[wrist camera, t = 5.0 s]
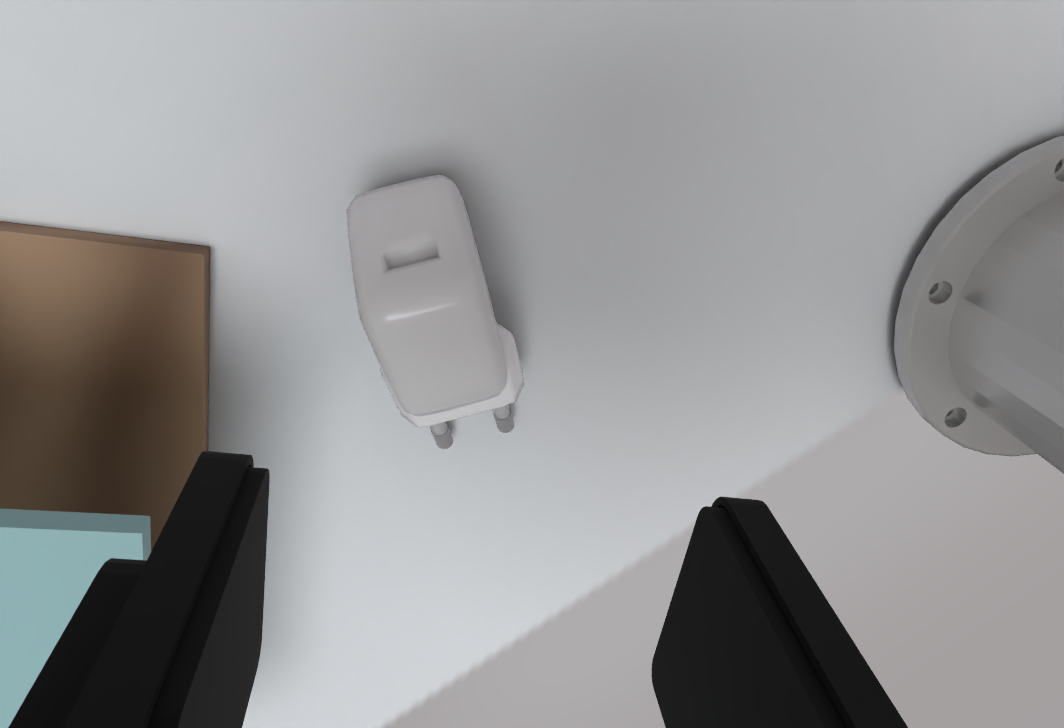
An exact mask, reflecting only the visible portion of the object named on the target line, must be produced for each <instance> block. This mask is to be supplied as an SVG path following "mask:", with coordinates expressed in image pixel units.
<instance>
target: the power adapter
mask: <svg viewBox="0 0 1064 728" xmlns="http://www.w3.org/2000/svg"><path fill="white" fill-rule="evenodd" d="M347 223H348V236H349V245H350V254H351V262H352V269H353V277H354V285H355V292H356V299H357V305H358V311H359V316H360V321H361V323H362V326H363V328H364V330H365V333H366V335H367V337H368V340H369V342H370V344H371V346H372V348H373V351H374V353H375V355H376V357H377V359H378V361H379V363H380V365H381V369H380V370H381V374H382V376H383V378H384V380H385V382H386V385H387V387H388V389H389V391H390V393H391V395H392V397H393V399H394V401H395V403H396V405H397V407H398V409H399V411H400V413H401V415H402V416H403V417H404V418H406V419H407V420H408V421H409V422H411V423H412V424H413V425H414V426H416V427H423V426H430V428H431V432H432V435H433V437H434V439H435V441H436V444H437V446H438V447H439V448H441V449H447V448H449V447H451V445H452V444H453V437H452V435H451V432H450V430H449V427H448V425H447V424H446V421H450V420H454V419H458V418H461V417H465V416H469V415H473V414H477V413H480V412H484V411H488V410H492V409H493V411H494V417H495V421H496V424H497V427H498V429H499V430H500V431H501V432H503V433H508V432H510V431H511V430H512V429H513V428H514V421H513V417H512V413H511V410H510V408H509V405H508V404H510V403H513V402H514V401H516V400H517V398H518V395H519V393H520V391H521V389H522V387H523V385H524V378H523V372H522V368H521V364H520V359H519V355H518V351H517V347H516V342H515V339H514V336H513V335H512V333H511V332H509V331H508V330H507V329H505V328H504V327H503V326H501V325H500V324H498V323H497V322H496V319H495V315H494V311H493V307H492V303H491V300H490V296H489V292H488V288H487V284H486V280H485V276H484V273H483V269H482V265H481V261H480V258H479V254H478V250H477V246H476V243H475V239H474V235H473V232H472V228H471V225H470V221H469V218H468V214H467V211H466V208H465V204H464V201H463V198H462V195H461V192H460V191H459V189H458V188H457V186H456V185H455V183H454V182H453V181H452V180H451V179H449V178H447V177H445V176H443V175H441V174H440V175H434V176H427V177H422V178H417V179H413V180H409V181H405V182H401V183H397V184H393V185H389V186H385V187H381V188H378V189H374V190H371V191H368V192H365V193H362V194H360V195H357V196H355V198H354V199H353V200H352V202H351V203H350V205H349V206H348V208H347Z"/></svg>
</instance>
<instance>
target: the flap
mask: <svg viewBox="0 0 1064 728" xmlns="http://www.w3.org/2000/svg"><path fill="white" fill-rule="evenodd" d="M150 553H151V528H150V516H142V515H121V514H101V513H81V512H60V511H40V510H19V509H0V728H8V727H9V726H10V724H11V722H12V720H13V719H14V717H15V715H16V713H17V712H18V710H19V708H20V706H21V705H22V703H23V701H24V699H25V698H26V696H27V694H28V693H29V691H30V689H31V687H32V686H33V684H34V682H35V680H36V679H37V677H38V675H39V673H40V672H41V670H42V668H43V666H44V665H45V663H46V661H47V659H48V658H49V656H50V654H51V653H52V651H53V649H54V647H55V646H56V644H57V642H58V640H59V639H60V637H61V635H62V633H63V632H64V630H65V628H66V626H67V625H68V623H69V621H70V620H71V618H72V616H73V614H74V613H75V611H76V609H77V607H78V606H79V604H80V602H81V600H82V599H83V597H84V595H85V593H86V592H87V590H88V588H89V587H90V585H91V583H92V581H93V580H94V578H95V576H96V574H97V573H98V571H99V570H100V568H101V567H102V566H103V564H104V563H105V562H106V561H108V560H109V559H111V558H117V559H132V560H147V559H148V557H149V555H150Z"/></svg>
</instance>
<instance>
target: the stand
mask: <svg viewBox="0 0 1064 728" xmlns="http://www.w3.org/2000/svg"><path fill="white" fill-rule="evenodd" d="M209 283H210V247H208V246H200V245H192V244H183V243H175V242H167V241H158V240H150V239H141V238H133V237H125V236H116V235H108V234H99V233H91V232H83V231H74V230H66V229H58V228H49V227H41V226H32V225H24V224H16V223H7V222H0V509H19V510H40V511H60V512H81V513H101V514H121V515H142V516H150V528H151V551H152V549H153V547H154V545H155V543H156V541H157V539H158V537H159V535H160V533H161V531H162V529H163V527H164V525H165V523H166V521H167V519H168V517H169V515H170V513H171V511H172V509H173V507H174V505H175V503H176V501H177V499H178V497H179V495H180V493H181V491H182V489H183V487H184V485H185V483H186V481H187V479H188V477H189V475H190V473H191V471H192V469H193V467H194V465H195V463H196V461H197V459H198V457H199V456H200V454H201V453H202V452H203V451H208V385H209Z"/></svg>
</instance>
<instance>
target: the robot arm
mask: <svg viewBox="0 0 1064 728" xmlns="http://www.w3.org/2000/svg"><path fill="white" fill-rule="evenodd" d="M894 353H895V359H896V365H897V372H898V376H899V379H900V381H901V384H902V386H903V388H904V391H905V393H906V395H907V398H908V399H909V401H910V402H911V403H912V405H913V406H914V407H915V409H916V410H917V411H918V413H919V414H920V415H921V416H922V417H923V418H924V419H925V420H926V421H927V422H928V423H929V424H931V425H932V426H933V427H934V428H935V429H936V430H937V431H939V432H940V433H941V434H942V435H944V436H945V437H947V438H949V439H951V440H952V441H954V442H956V443H957V444H959V445H961V446H963V447H965V448H968V449H972V450H975V451H978V452H982V453H985V454H992V455H1004V456H1019V455H1029V454H1038V455H1040V456H1041V457H1042V458H1044V459H1045V460H1046V461H1048V462H1049V463H1051V464H1052V465H1053V466H1054V467H1056V468H1057V469H1058V470H1060V471H1061V472H1062V473H1064V136H1060V137H1056V138H1053V139H1051V140H1048V141H1046V142H1044V143H1042V144H1039V145H1037V146H1035V147H1033V148H1030V149H1028V150H1026V151H1024V152H1021V153H1020V154H1018V155H1017V156H1015V157H1014V158H1012V159H1011V160H1009V161H1007V162H1006V163H1004V164H1003V165H1001V166H1000V167H998V168H997V169H995V170H993V171H992V172H990V173H989V174H988V175H987V176H986V177H984V178H983V179H982V180H981V181H980V182H979V183H978V184H976V185H975V186H974V187H973V188H972V189H971V190H970V191H969V192H967V193H966V194H965V195H964V196H963V197H962V198H961V199H960V200H959V201H958V202H957V203H956V204H955V206H954V207H953V208H952V209H951V210H950V211H949V213H948V214H947V215H946V216H945V217H944V218H943V220H942V221H941V222H940V223H939V224H938V225H937V227H936V228H935V230H934V231H933V233H932V234H931V236H930V238H929V239H928V241H927V242H926V244H925V246H924V247H923V249H922V250H921V252H920V253H919V255H918V257H917V258H916V261H915V263H914V265H913V268H912V270H911V272H910V275H909V277H908V279H907V281H906V284H905V286H904V288H903V292H902V296H901V300H900V304H899V308H898V312H897V316H896V321H895V339H894ZM268 497H269V470H268V469H264V468H253V457H252V455H244V454H232V453H221V452H210V451H203V452H202V453H201V454H200V456H199V457H198V459H197V461H196V463H195V465H194V467H193V469H192V471H191V473H190V475H189V477H188V479H187V481H186V483H185V485H184V487H183V489H182V491H181V493H180V495H179V497H178V499H177V501H176V503H175V505H174V507H173V509H172V511H171V513H170V515H169V517H168V519H167V521H166V523H165V525H164V527H163V529H162V531H161V533H160V535H159V537H158V539H157V541H156V543H155V545H154V547H153V549H152V551H151V553H150V555H149V557H148V559H147V560H132V559H117V558H111V559H109V560H108V561H106V562H105V563H104V564H103V566H102V567H101V568H100V570H99V571H98V573H97V574H96V576H95V578H94V580H93V581H92V583H91V585H90V587H89V588H88V590H87V592H86V593H85V595H84V597H83V599H82V600H81V602H80V604H79V606H78V607H77V609H76V611H75V613H74V614H73V616H72V618H71V620H70V621H69V623H68V625H67V626H66V628H65V630H64V632H63V633H62V635H61V637H60V639H59V640H58V642H57V644H56V646H55V647H54V649H53V651H52V653H51V654H50V656H49V658H48V659H47V661H46V663H45V665H44V666H43V668H42V670H41V672H40V673H39V675H38V677H37V679H36V680H35V682H34V684H33V686H32V687H31V689H30V691H29V693H28V694H27V696H26V698H25V699H24V701H23V703H22V705H21V706H20V708H19V710H18V712H17V713H16V715H15V717H14V719H13V720H12V722H11V724H10V726H9V727H8V728H242V725H243V721H244V717H245V714H246V710H247V706H248V702H249V698H250V694H251V691H252V687H253V683H254V679H255V675H256V671H257V667H258V662H259V657H260V650H261V642H262V624H263V603H264V582H265V561H266V540H267V518H268ZM652 682H653V687H654V691H655V694H656V698H657V701H658V704H659V707H660V710H661V714H662V717H663V720H664V723H665V727H666V728H908V727H907V725H906V724H905V722H904V721H903V719H902V718H901V716H900V714H899V713H898V711H897V710H896V708H895V706H894V705H893V703H892V702H891V700H890V699H889V697H888V695H887V694H886V692H885V691H884V689H883V688H882V686H881V685H880V683H879V681H878V680H877V678H876V677H875V675H874V674H873V672H872V670H871V669H870V667H869V666H868V664H867V663H866V661H865V659H864V658H863V656H862V655H861V653H860V651H859V650H858V648H857V647H856V645H855V644H854V642H853V640H852V639H851V637H850V636H849V634H848V633H847V631H846V630H845V628H844V626H843V625H842V623H841V622H840V620H839V618H838V617H837V615H836V614H835V612H834V610H833V609H832V607H831V606H830V604H829V603H828V601H827V600H826V598H825V596H824V595H823V593H822V592H821V590H820V588H819V587H818V585H817V584H816V582H815V581H814V579H813V578H812V576H811V574H810V573H809V571H808V570H807V568H806V566H805V565H804V563H803V562H802V560H801V559H800V557H799V555H798V554H797V552H796V551H795V549H794V548H793V546H792V544H791V543H790V541H789V540H788V538H787V536H786V535H785V533H784V532H783V530H782V529H781V527H780V525H779V524H778V522H777V521H776V519H775V518H774V516H773V515H772V513H771V511H770V510H769V508H768V507H767V505H766V504H765V503H764V502H763V501H759V500H752V499H740V498H729V497H719V498H717V499H716V500H715V501H714V503H713V504H712V507H703V508H702V509H701V510H700V512H699V514H698V517H697V520H696V523H695V526H694V530H693V533H692V536H691V539H690V542H689V546H688V549H687V552H686V555H685V559H684V561H683V565H682V568H681V571H680V574H679V578H678V581H677V584H676V587H675V590H674V594H673V597H672V600H671V603H670V606H669V609H668V612H667V616H666V619H665V622H664V625H663V628H662V632H661V635H660V638H659V641H658V645H657V647H656V651H655V654H654V657H653V662H652Z"/></svg>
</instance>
